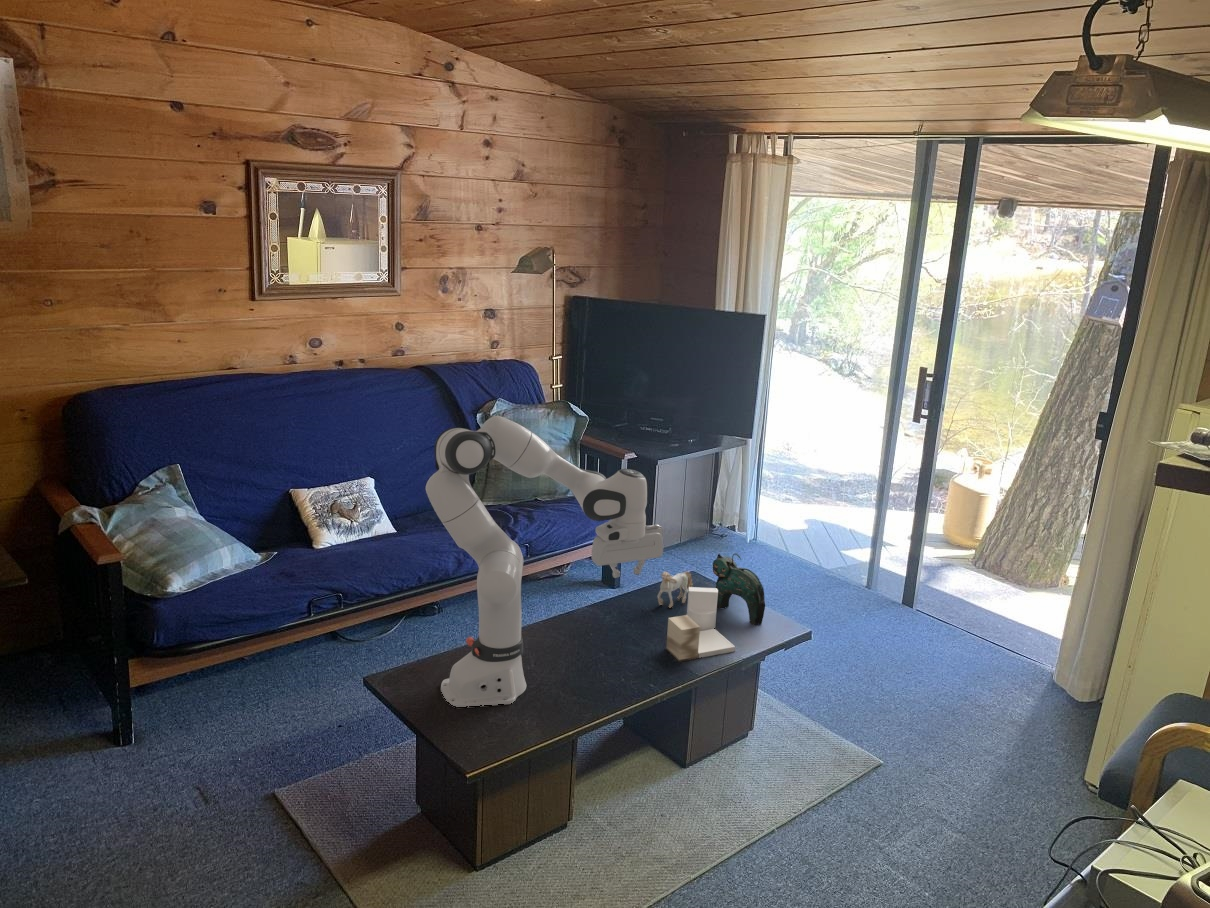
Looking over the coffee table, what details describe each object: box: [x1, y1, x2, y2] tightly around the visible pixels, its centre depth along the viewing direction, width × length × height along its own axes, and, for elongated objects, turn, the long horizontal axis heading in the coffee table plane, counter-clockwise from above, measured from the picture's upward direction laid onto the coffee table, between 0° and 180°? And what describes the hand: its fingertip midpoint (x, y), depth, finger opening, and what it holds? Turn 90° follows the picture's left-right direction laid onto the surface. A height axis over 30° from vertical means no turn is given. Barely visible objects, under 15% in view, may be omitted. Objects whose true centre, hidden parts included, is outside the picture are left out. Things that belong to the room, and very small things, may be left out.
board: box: [697, 628, 736, 659], centre depth 282 cm, size 12×12×2 cm
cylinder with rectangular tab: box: [686, 586, 718, 631], centre depth 293 cm, size 9×9×12 cm
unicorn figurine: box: [656, 571, 694, 608], centre depth 305 cm, size 7×20×13 cm, turn 150°
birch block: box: [665, 614, 700, 662], centre depth 276 cm, size 6×8×10 cm
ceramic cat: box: [712, 553, 766, 626], centre depth 301 cm, size 20×6×20 cm, turn 40°
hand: (626, 575), depth 262 cm, fingers open, 5 cm apart
